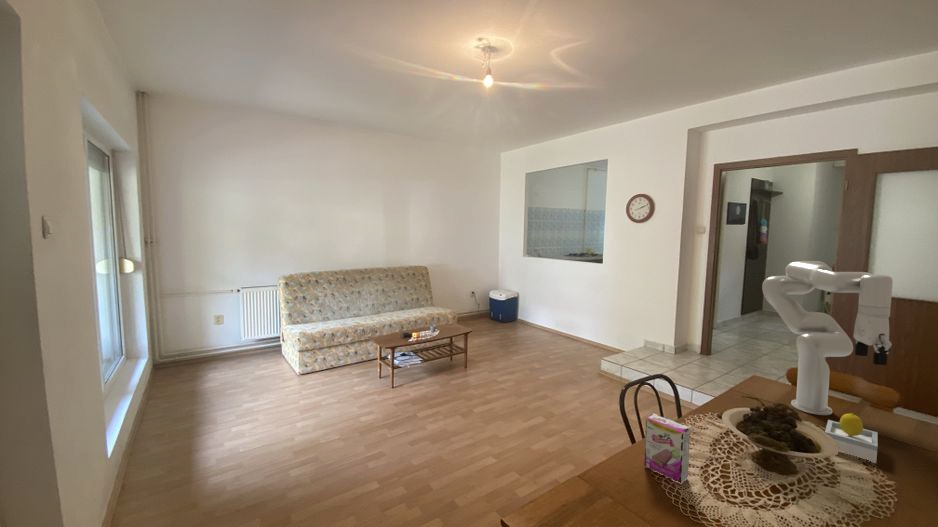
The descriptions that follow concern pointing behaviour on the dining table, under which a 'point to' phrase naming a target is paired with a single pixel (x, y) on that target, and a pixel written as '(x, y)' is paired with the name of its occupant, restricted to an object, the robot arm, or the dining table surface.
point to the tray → (854, 441)
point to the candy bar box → (667, 447)
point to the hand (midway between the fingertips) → (869, 359)
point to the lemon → (851, 424)
